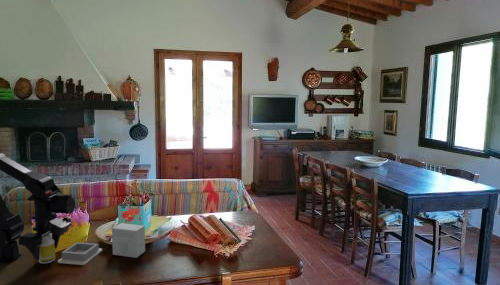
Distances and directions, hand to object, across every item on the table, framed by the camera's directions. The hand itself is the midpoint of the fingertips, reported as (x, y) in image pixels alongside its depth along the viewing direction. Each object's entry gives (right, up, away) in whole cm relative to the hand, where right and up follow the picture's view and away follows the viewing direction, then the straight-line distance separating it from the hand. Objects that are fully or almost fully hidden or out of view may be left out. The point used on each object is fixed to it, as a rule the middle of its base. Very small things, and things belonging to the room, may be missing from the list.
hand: (46, 253), depth 130 cm
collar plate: (+11, -2, +4) cm, 11 cm away
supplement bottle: (0, -3, 0) cm, 3 cm away
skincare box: (+27, -2, +8) cm, 28 cm away
